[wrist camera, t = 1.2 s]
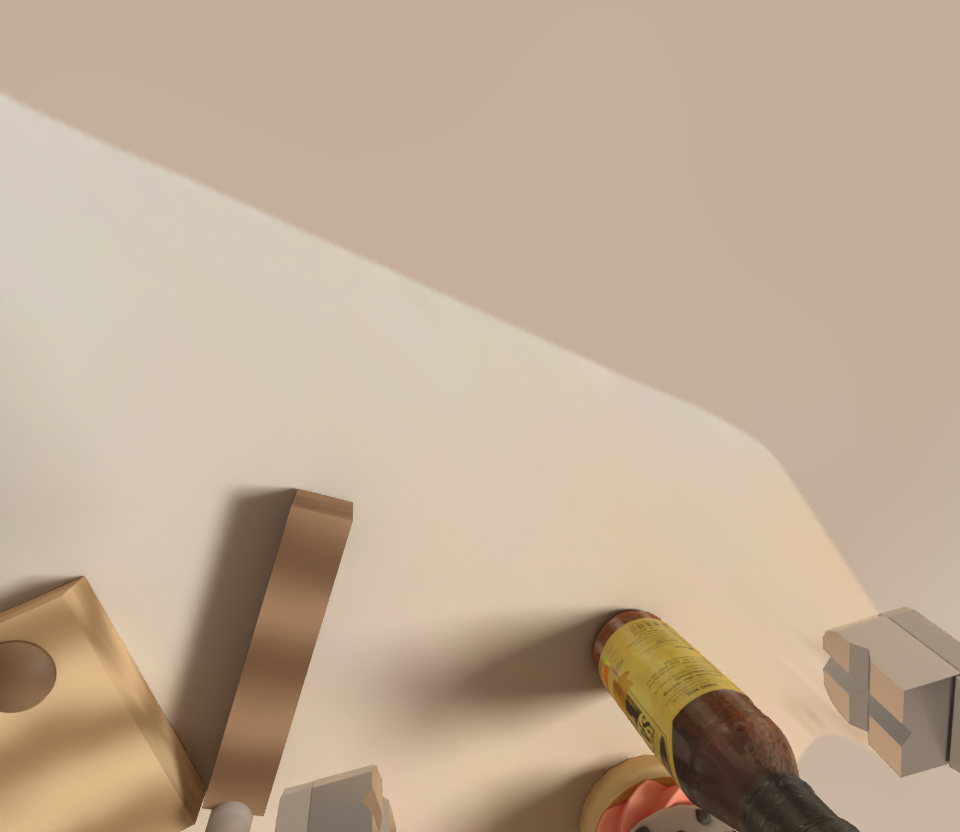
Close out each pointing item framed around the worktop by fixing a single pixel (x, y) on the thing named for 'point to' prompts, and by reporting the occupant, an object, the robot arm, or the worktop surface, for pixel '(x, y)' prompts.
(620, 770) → the cake
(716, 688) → the sauce bottle
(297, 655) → the brown wooden block
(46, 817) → the stool seat
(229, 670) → the worktop surface
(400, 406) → the worktop surface
